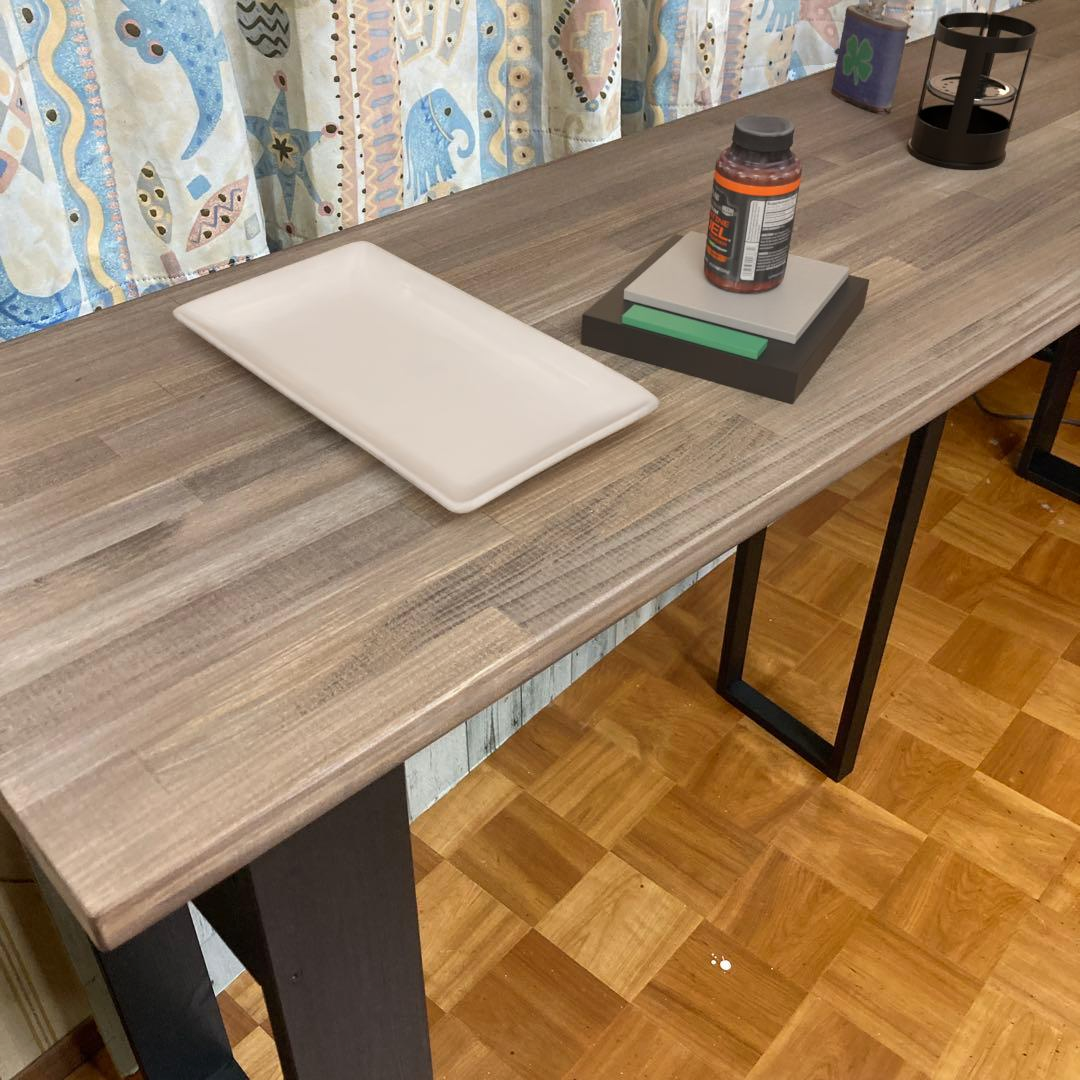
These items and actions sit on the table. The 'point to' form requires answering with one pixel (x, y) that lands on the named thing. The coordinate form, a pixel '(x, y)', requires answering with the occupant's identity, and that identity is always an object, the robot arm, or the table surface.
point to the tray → (418, 371)
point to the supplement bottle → (753, 206)
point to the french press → (970, 93)
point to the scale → (727, 320)
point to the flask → (869, 57)
